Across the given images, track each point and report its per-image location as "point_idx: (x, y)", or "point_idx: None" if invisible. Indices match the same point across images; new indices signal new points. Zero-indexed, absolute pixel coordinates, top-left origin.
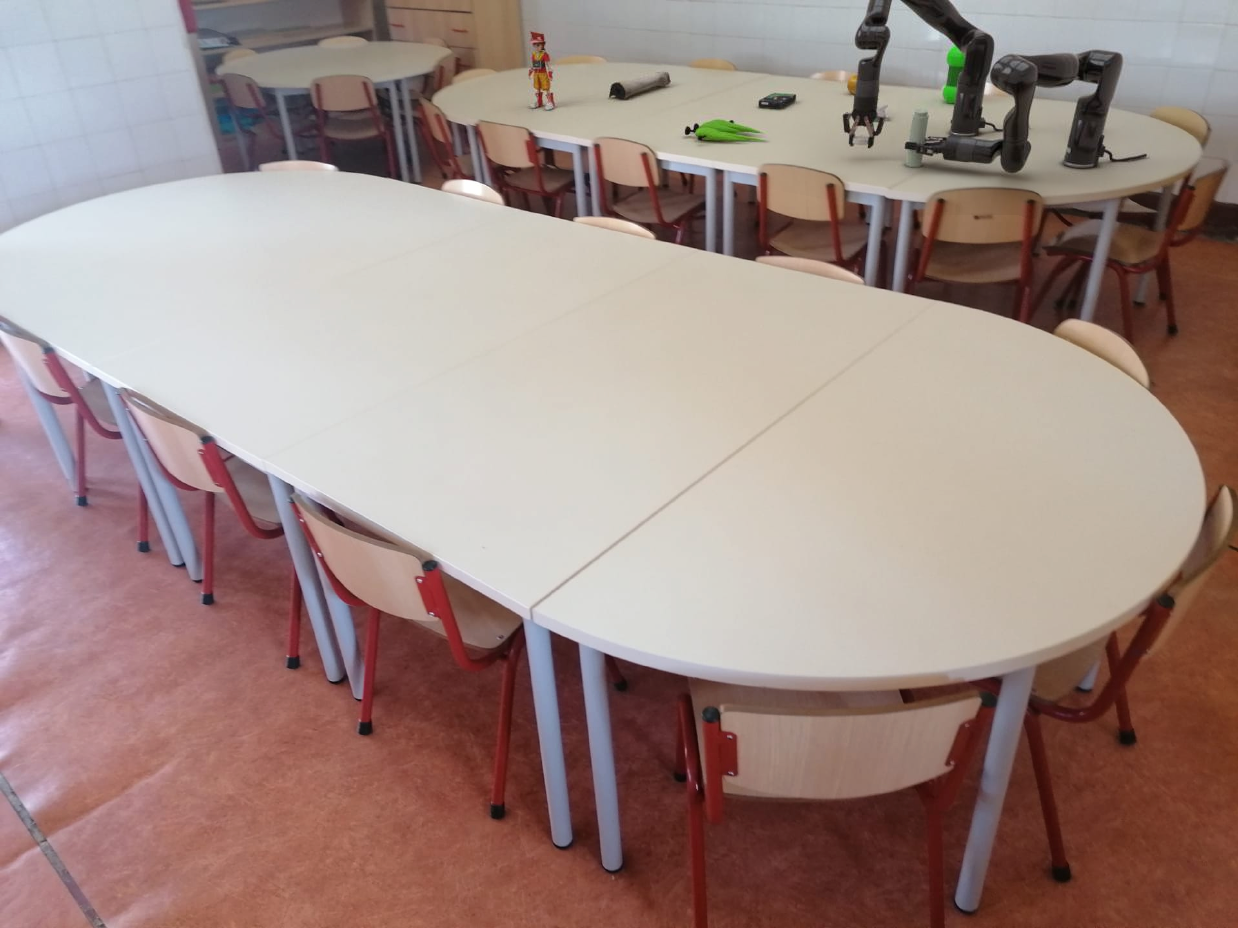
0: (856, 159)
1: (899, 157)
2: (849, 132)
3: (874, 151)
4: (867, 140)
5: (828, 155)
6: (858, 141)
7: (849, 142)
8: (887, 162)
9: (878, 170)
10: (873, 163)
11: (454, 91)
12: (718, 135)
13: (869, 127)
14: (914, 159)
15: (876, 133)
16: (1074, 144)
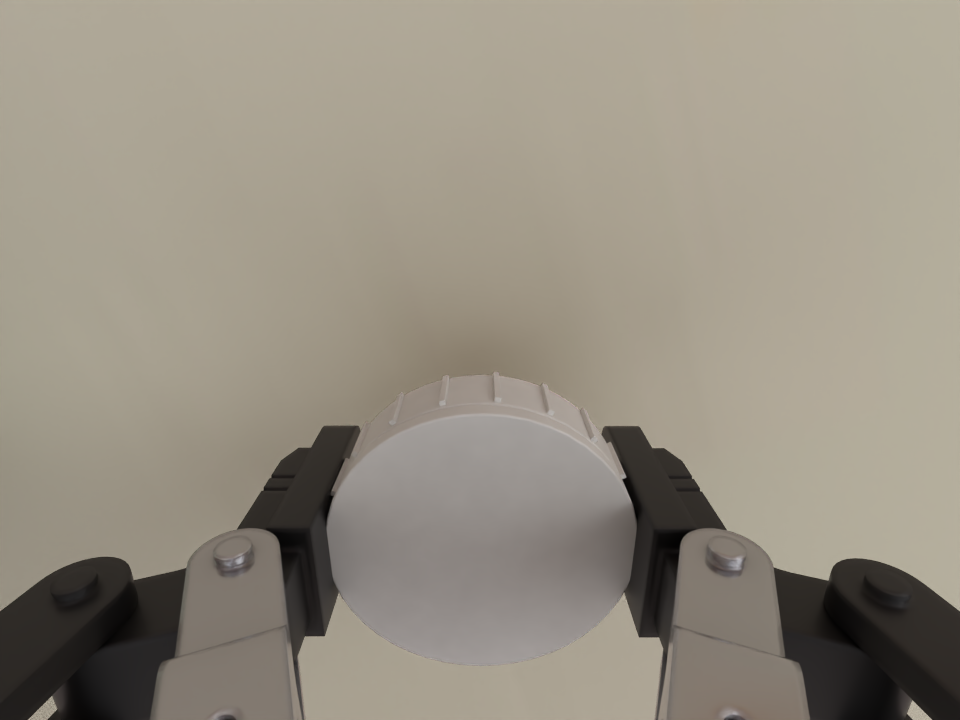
0: (510, 375)
1: (136, 571)
2: (772, 570)
3: None
4: (340, 485)
5: (850, 410)
6: (490, 400)
7: (672, 468)
8: (153, 386)
9: (69, 13)
10: (273, 297)
11: None
12: None
13: (190, 709)
14: None
15: (73, 595)
16: None
